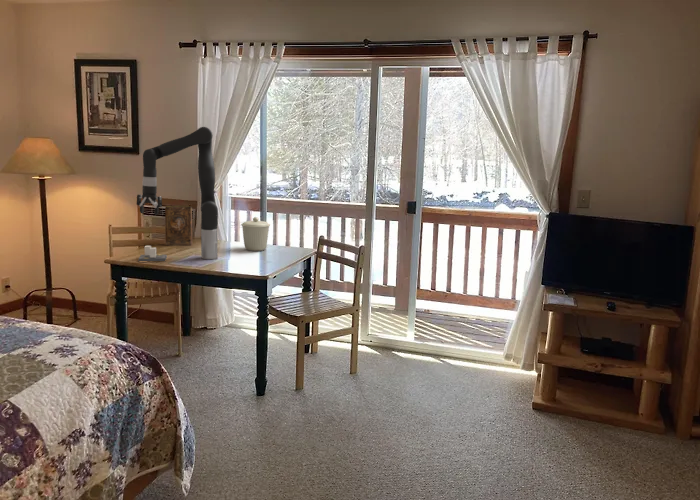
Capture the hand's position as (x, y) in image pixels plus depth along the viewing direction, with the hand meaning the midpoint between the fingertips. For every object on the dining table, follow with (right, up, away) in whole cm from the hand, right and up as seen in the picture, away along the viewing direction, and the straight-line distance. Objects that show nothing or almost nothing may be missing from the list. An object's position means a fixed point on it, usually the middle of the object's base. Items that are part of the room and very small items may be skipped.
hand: (149, 213), depth 315 cm
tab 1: (-2, -23, +4) cm, 24 cm away
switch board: (+1, -26, +2) cm, 26 cm away
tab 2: (+3, -24, -1) cm, 24 cm away
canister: (+53, -20, +43) cm, 71 cm away
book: (+2, -17, +48) cm, 51 cm away
